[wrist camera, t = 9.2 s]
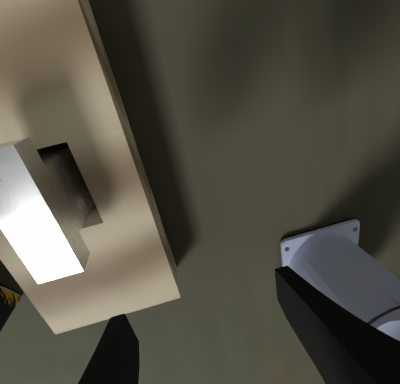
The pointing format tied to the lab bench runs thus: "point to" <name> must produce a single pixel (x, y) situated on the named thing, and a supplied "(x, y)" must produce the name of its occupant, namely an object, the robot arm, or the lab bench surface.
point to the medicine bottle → (7, 304)
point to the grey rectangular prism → (44, 208)
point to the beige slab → (82, 163)
